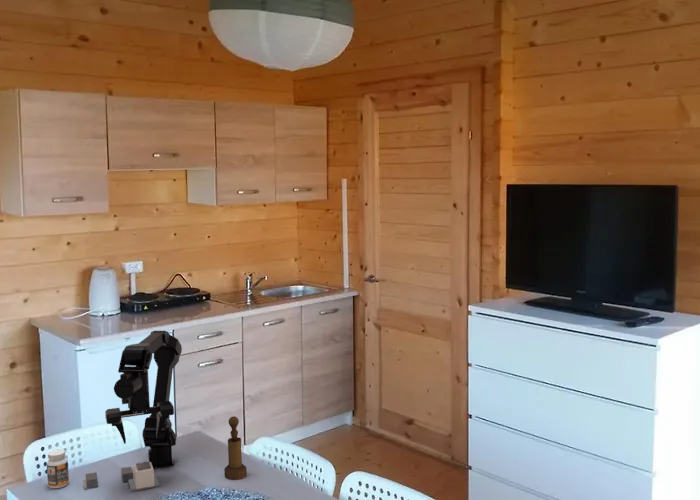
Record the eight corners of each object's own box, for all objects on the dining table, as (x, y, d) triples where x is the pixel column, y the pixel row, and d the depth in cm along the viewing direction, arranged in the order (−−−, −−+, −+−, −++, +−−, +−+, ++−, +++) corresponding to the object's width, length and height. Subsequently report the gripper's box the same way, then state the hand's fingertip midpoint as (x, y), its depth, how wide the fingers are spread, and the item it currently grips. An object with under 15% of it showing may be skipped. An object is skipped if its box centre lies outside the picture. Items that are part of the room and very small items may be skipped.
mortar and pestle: (251, 473, 218) (248, 415, 217) (239, 481, 213) (236, 421, 211) (232, 469, 221) (230, 412, 219) (220, 477, 215) (217, 419, 213)
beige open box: (151, 478, 215) (150, 460, 214) (154, 485, 209) (153, 467, 209) (134, 481, 213) (133, 463, 212) (136, 489, 207) (135, 470, 207)
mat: (155, 476, 218) (155, 474, 218) (159, 486, 210) (159, 484, 210) (128, 480, 215) (127, 479, 214) (130, 491, 207) (130, 489, 207)
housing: (134, 473, 220) (133, 465, 220) (136, 480, 215) (135, 472, 214) (83, 482, 214) (82, 474, 214) (84, 489, 209) (83, 481, 209)
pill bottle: (61, 489, 209) (59, 456, 208) (44, 488, 211) (41, 455, 210) (73, 481, 215) (70, 449, 214) (55, 480, 216) (53, 448, 215)
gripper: (167, 377, 220) (169, 427, 222) (102, 385, 213) (105, 436, 215) (173, 387, 210) (175, 439, 212) (105, 395, 203) (108, 449, 205)
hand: (141, 440), depth 211 cm, fingers open, 9 cm apart
